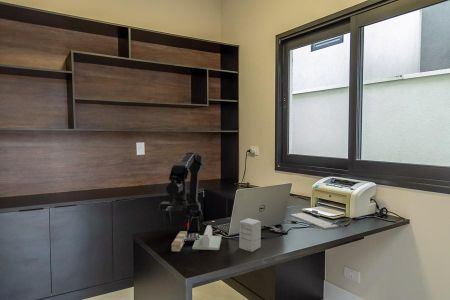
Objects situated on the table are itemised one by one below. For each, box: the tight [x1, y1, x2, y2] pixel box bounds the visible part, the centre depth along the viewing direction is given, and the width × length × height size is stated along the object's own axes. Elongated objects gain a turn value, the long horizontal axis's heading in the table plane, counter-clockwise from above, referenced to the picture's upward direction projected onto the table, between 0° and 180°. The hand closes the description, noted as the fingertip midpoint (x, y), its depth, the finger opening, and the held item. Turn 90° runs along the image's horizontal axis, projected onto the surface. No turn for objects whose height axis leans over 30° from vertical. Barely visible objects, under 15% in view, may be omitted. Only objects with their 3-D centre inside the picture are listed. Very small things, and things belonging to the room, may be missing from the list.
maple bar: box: [171, 230, 188, 252], centre depth 148 cm, size 18×4×4 cm, turn 176°
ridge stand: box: [191, 224, 222, 251], centre depth 149 cm, size 16×12×6 cm
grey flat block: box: [290, 212, 341, 230], centre depth 190 cm, size 31×3×12 cm
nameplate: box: [268, 226, 289, 236], centre depth 176 cm, size 27×2×10 cm
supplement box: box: [238, 217, 262, 253], centre depth 144 cm, size 7×7×13 cm
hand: (180, 224), depth 148 cm, fingers open, 9 cm apart
